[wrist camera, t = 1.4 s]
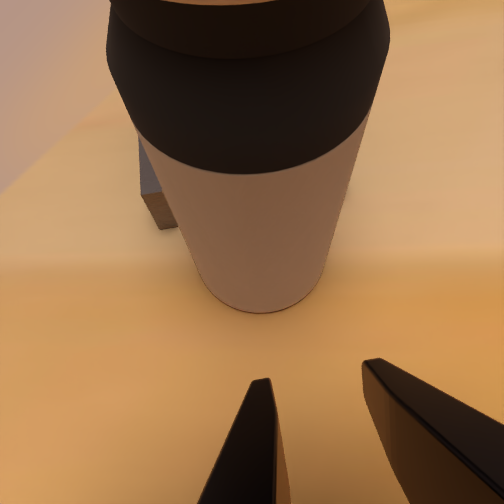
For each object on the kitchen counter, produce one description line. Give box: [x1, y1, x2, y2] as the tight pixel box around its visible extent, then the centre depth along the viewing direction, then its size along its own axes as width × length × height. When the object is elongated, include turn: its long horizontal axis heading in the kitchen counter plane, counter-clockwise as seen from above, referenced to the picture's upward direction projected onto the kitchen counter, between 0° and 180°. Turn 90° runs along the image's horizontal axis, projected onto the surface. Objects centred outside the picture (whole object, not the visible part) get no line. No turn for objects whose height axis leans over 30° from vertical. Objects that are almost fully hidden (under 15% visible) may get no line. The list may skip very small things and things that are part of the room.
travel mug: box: [106, 0, 390, 313], centre depth 16 cm, size 8×8×18 cm
